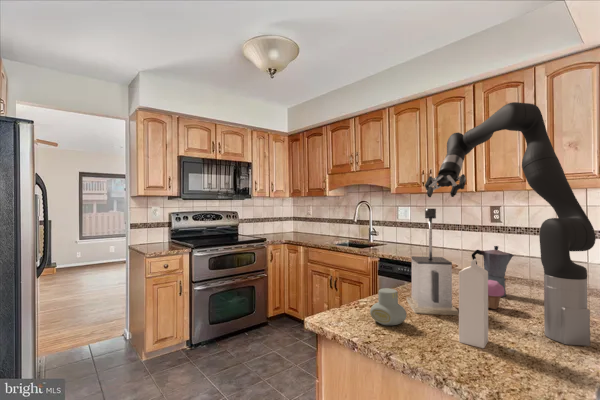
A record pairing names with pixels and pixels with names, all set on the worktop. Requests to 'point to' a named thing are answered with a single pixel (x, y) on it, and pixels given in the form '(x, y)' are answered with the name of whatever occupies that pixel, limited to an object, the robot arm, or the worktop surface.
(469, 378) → the worktop surface
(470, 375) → the worktop surface
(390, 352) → the worktop surface
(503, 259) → the moka pot
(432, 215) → the joystick lever
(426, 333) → the worktop surface
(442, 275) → the arcade joystick
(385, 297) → the air freshener
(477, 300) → the milk
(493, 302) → the cupcake
